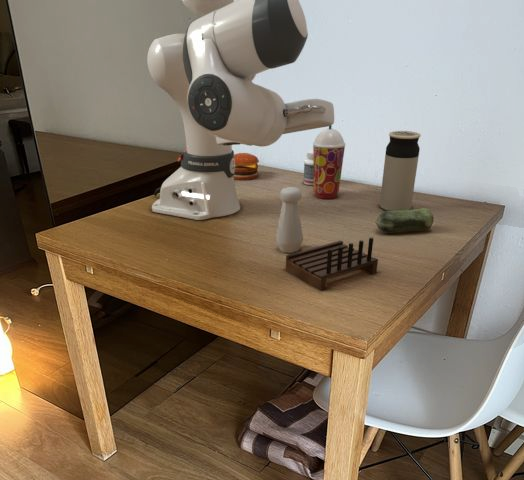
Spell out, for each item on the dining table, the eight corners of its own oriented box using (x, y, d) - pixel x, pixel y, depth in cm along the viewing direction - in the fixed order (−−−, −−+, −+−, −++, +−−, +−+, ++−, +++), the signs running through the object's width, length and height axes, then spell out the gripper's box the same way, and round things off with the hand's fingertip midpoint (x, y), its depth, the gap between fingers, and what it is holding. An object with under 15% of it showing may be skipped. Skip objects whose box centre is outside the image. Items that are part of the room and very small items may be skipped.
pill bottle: (316, 186, 156) (317, 154, 151) (300, 184, 158) (301, 152, 154) (324, 182, 160) (326, 151, 155) (308, 179, 162) (310, 148, 157)
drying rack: (285, 270, 107) (286, 234, 103) (339, 254, 114) (342, 220, 110) (320, 290, 100) (323, 253, 96) (376, 273, 106) (381, 236, 102)
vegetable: (425, 225, 129) (428, 204, 126) (435, 232, 125) (439, 211, 122) (369, 229, 127) (372, 208, 124) (378, 237, 122) (381, 215, 120)
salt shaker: (300, 255, 114) (302, 193, 107) (273, 253, 114) (274, 191, 108) (304, 245, 118) (306, 185, 111) (278, 243, 119) (279, 183, 112)
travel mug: (405, 214, 136) (416, 138, 126) (375, 209, 139) (383, 134, 129) (414, 205, 141) (425, 132, 132) (385, 200, 145) (394, 129, 135)
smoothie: (320, 189, 154) (324, 113, 143) (346, 194, 150) (353, 116, 139) (304, 196, 148) (308, 118, 137) (331, 202, 144) (337, 121, 133)
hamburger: (226, 180, 162) (225, 157, 159) (230, 172, 170) (229, 149, 167) (257, 180, 161) (257, 157, 158) (260, 172, 169) (260, 150, 166)
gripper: (317, 83, 84) (345, 98, 96) (205, 107, 93) (243, 118, 105) (319, 127, 85) (347, 136, 97) (209, 146, 94) (246, 152, 106)
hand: (292, 127), depth 101 cm, fingers open, 8 cm apart
